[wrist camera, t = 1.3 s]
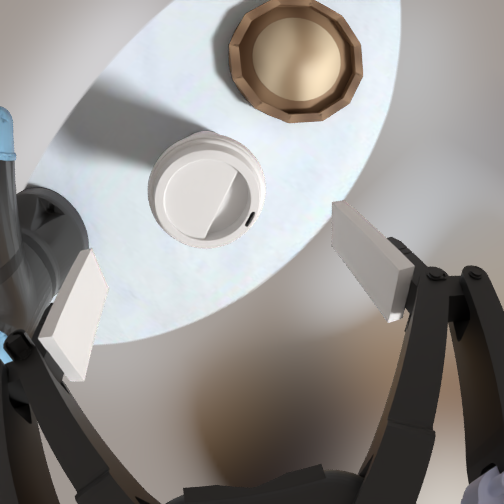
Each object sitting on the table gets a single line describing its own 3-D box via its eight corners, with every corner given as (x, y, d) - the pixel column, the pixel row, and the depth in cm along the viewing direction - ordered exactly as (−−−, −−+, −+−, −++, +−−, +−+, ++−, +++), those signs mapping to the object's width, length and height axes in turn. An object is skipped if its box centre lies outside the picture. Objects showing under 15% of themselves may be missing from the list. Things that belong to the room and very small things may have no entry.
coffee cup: (203, 209, 39) (206, 277, 26) (148, 157, 34) (118, 203, 21) (260, 158, 36) (295, 203, 24) (207, 101, 32) (211, 110, 19)
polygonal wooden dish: (236, 127, 34) (237, 129, 32) (221, 2, 26) (223, -2, 24) (358, 118, 35) (365, 120, 34) (350, 5, 27) (356, 2, 25)
